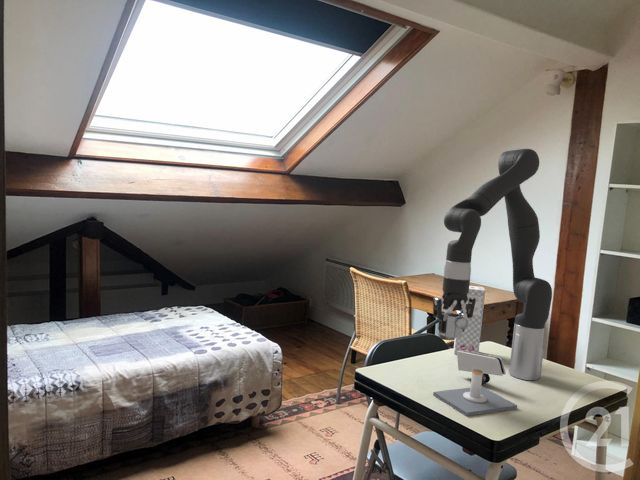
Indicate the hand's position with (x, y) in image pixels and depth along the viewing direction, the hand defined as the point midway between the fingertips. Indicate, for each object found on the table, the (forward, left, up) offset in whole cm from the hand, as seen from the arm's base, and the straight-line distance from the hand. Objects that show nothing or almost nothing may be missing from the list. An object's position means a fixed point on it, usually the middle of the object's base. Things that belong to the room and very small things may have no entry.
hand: (451, 331), depth 147 cm
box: (-32, -28, -18) cm, 46 cm away
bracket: (-12, -8, -14) cm, 20 cm away
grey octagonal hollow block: (0, 0, -1) cm, 1 cm away
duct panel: (-2, +10, -17) cm, 20 cm away
